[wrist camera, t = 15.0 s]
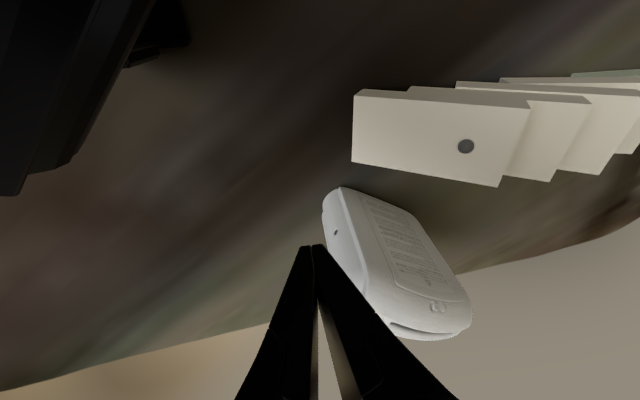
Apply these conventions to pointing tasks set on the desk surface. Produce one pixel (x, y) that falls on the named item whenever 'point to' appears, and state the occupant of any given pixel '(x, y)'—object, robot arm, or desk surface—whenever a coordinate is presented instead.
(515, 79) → the domino
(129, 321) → the desk surface
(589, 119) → the domino
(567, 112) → the domino
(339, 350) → the robot arm
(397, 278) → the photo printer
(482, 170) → the domino
